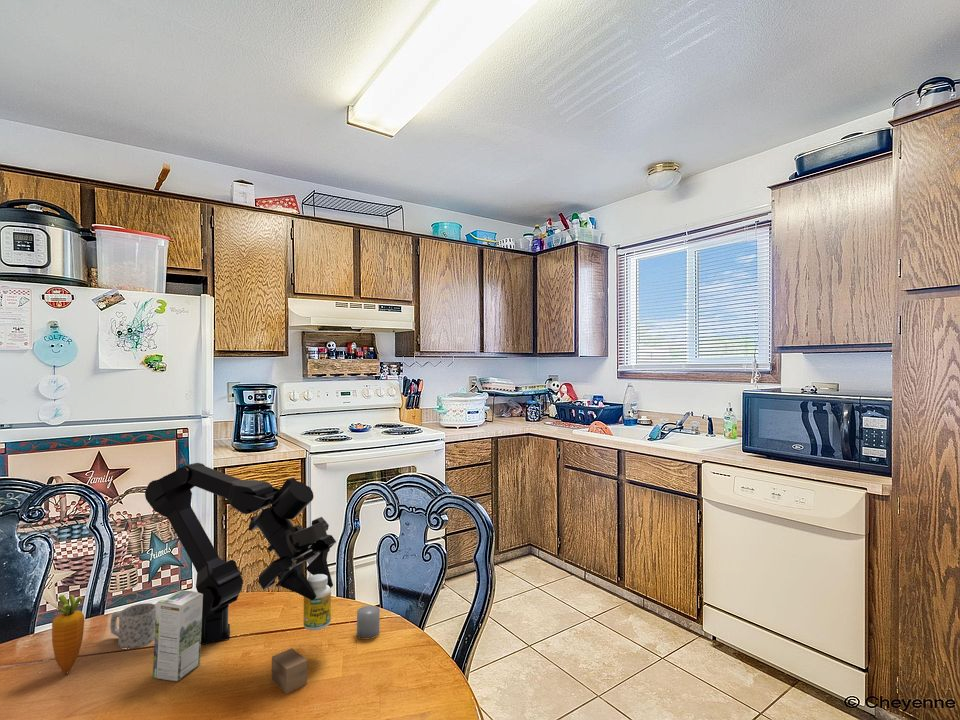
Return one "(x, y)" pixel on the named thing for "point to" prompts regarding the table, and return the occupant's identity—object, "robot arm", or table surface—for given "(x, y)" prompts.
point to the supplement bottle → (318, 604)
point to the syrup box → (177, 635)
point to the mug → (135, 625)
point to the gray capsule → (368, 621)
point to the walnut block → (289, 670)
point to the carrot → (67, 633)
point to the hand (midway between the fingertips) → (323, 592)
